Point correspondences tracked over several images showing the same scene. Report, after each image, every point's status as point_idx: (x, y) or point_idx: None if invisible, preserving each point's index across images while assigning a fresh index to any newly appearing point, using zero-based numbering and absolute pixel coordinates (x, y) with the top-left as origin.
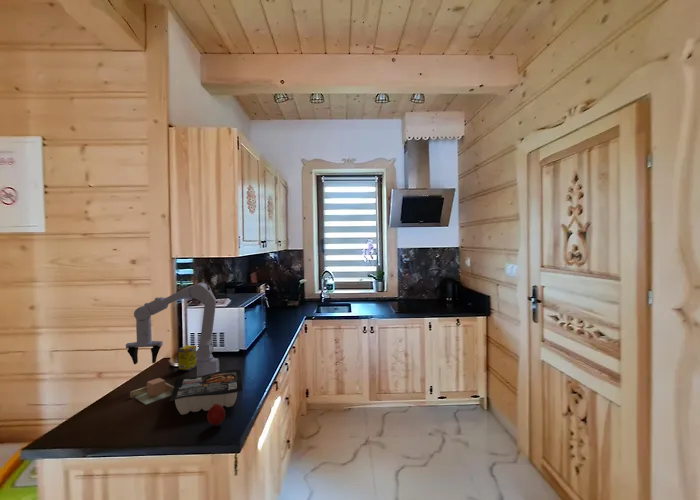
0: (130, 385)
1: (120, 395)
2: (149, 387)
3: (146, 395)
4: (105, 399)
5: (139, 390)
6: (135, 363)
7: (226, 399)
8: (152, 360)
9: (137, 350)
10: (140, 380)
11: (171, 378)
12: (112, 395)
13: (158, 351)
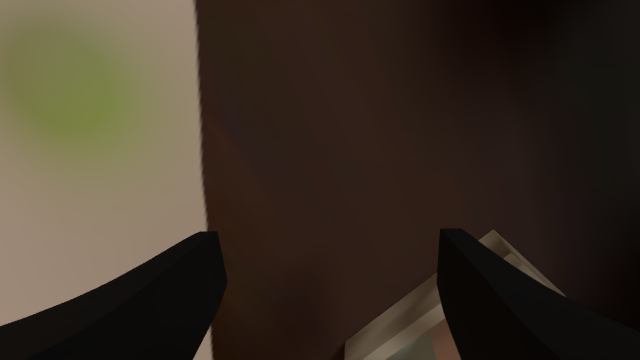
0: (239, 172)
1: (271, 305)
2: None
3: (432, 344)
4: (221, 335)
5: (389, 351)
6: (223, 286)
7: None
8: (453, 324)
9: (83, 349)
10: (258, 82)
11: (520, 69)
12: (224, 298)
13: (602, 329)
